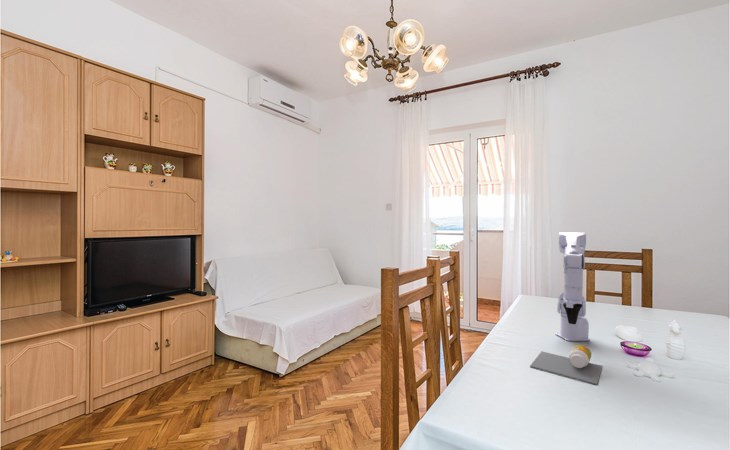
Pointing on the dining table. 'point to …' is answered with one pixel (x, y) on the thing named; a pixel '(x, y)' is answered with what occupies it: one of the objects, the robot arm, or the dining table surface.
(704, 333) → the dining table surface
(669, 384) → the dining table surface
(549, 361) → the slate mat
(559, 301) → the robot arm
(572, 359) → the supplement bottle
